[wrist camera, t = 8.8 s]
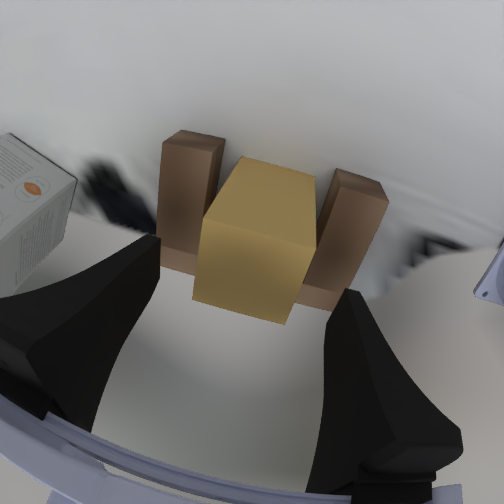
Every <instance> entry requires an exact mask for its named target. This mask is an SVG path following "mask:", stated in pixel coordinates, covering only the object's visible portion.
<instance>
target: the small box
mask: <svg viewBox="0 0 504 504" xmlns="http://www.w3.org/2000/svg"><path fill="white" fill-rule="evenodd" d="M76 182H77V180H76V179H75V178H74V177H72V176H71V175H69V174H68V173H66V172H65V171H63V170H62V169H60V168H59V167H57V166H56V165H54V164H53V163H51V162H50V161H48V160H47V159H45V158H44V157H42V156H41V155H39V154H38V153H36V152H35V151H33V150H32V149H30V148H29V147H28V146H26V145H25V144H23V143H22V142H20V141H19V140H17V139H16V138H15V137H13V136H12V135H10V134H9V133H8V134H6V135H4V136H2V137H0V298H3V297H9V296H11V295H12V294H13V293H14V292H15V291H16V290H17V289H18V287H19V286H20V285H21V284H22V283H23V282H24V281H25V279H26V278H27V277H28V276H29V275H30V274H31V273H32V272H33V271H34V269H35V268H36V267H37V266H38V265H39V264H40V263H41V262H42V261H43V260H44V259H45V257H46V256H47V255H48V254H49V253H50V252H51V251H52V250H53V249H54V248H55V247H56V246H57V245H58V244H59V243H60V242H61V241H62V239H63V236H64V232H65V226H66V222H67V218H68V213H69V209H70V205H71V201H72V197H73V193H74V189H75V186H76Z"/></svg>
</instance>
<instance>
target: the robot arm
mask: <svg viewBox="0 0 504 504" xmlns="http://www.w3.org/2000/svg"><path fill="white" fill-rule="evenodd" d="M160 254H161V238H159V237H155V236H152V235H148V234H146V235H145V236H143V237H141V238H139V239H138V240H136V241H134V242H133V243H131V244H130V245H128V246H127V247H125V248H123V249H121V250H120V251H118V252H116V253H115V254H113V255H111V256H110V257H108V258H106V259H104V260H102V261H101V262H99V263H97V264H95V265H93V266H91V267H90V268H88V269H86V270H84V271H82V272H80V273H78V274H76V275H73V276H71V277H69V278H66V279H64V280H62V281H59V282H56V283H53V284H51V285H48V286H45V287H42V288H40V289H36V290H33V291H29V292H26V293H22V294H18V295H14V296H9V297H3V298H0V455H1V456H2V457H3V458H5V459H6V460H8V461H9V462H10V463H12V464H13V465H14V466H16V467H17V468H19V469H20V470H22V471H23V472H25V473H26V474H28V475H29V476H31V477H32V478H34V479H36V480H37V481H39V482H40V483H42V484H44V485H45V486H47V487H49V488H50V489H52V492H51V494H50V496H49V499H48V501H47V503H46V504H208V503H204V502H201V501H197V500H193V499H190V498H186V497H182V496H179V495H175V494H172V493H169V492H166V491H162V490H159V489H156V488H153V487H151V486H148V485H145V484H142V483H140V482H137V481H134V480H131V479H128V478H125V477H123V476H118V475H115V474H112V473H110V472H108V471H107V470H106V469H105V468H104V465H103V463H101V462H99V461H97V460H100V461H102V462H104V463H106V464H109V465H111V466H113V467H116V468H118V469H120V470H123V471H125V472H128V473H131V474H133V475H136V476H138V477H141V478H144V479H146V480H149V481H152V482H155V483H158V484H161V485H164V486H167V487H170V488H174V489H177V490H180V491H184V492H187V493H191V494H194V495H198V496H202V497H206V498H210V499H214V500H219V501H223V502H228V503H232V504H463V500H462V486H461V484H454V485H447V486H440V487H436V488H432V482H433V481H435V480H436V471H438V470H440V469H441V468H443V467H445V466H447V465H449V464H450V463H452V462H453V461H455V460H457V459H458V458H459V457H460V456H461V454H462V453H463V443H462V436H461V431H460V428H459V427H457V426H456V425H455V424H454V423H453V422H452V421H451V420H449V419H448V418H447V417H446V416H445V415H444V414H442V412H441V411H440V410H439V409H437V407H436V406H435V405H434V404H433V403H432V402H431V401H430V400H429V399H428V398H427V397H426V396H425V395H424V394H423V392H422V391H421V390H420V389H419V387H418V386H417V385H416V384H415V383H414V382H413V380H412V379H411V378H410V376H409V375H408V374H407V372H406V371H405V369H404V368H403V366H402V365H401V364H400V362H399V361H398V359H397V358H396V356H395V355H394V353H393V351H392V350H391V348H390V346H389V345H388V343H387V341H386V340H385V338H384V336H383V334H382V333H381V331H380V329H379V327H378V325H377V323H376V322H375V320H374V318H373V316H372V314H371V312H370V310H369V308H368V306H367V305H366V302H365V300H364V299H363V297H362V295H361V293H360V292H359V291H355V290H351V289H348V288H345V289H344V291H343V293H342V295H341V297H340V299H339V301H338V303H337V305H336V307H335V308H334V310H333V312H332V314H331V316H330V318H329V320H328V322H327V323H326V331H325V340H324V400H323V410H322V417H321V424H320V430H319V436H318V442H317V447H316V452H315V456H314V460H313V465H312V469H311V473H310V476H309V480H308V484H307V488H306V491H305V493H302V492H294V491H286V490H279V489H272V488H266V487H260V486H254V485H249V484H244V483H239V482H233V481H230V480H225V479H221V478H217V477H212V476H209V475H205V474H201V473H197V472H194V471H190V470H187V469H183V468H180V467H177V466H173V465H170V464H167V463H164V462H161V461H158V460H155V459H153V458H150V457H147V456H144V455H141V454H139V453H136V452H134V451H131V450H128V449H126V448H123V447H121V446H119V445H116V444H114V443H111V442H109V441H107V440H104V439H102V438H100V437H98V436H96V435H94V434H91V430H92V426H93V423H94V420H95V416H96V413H97V409H98V406H99V403H100V400H101V397H102V394H103V392H104V389H105V386H106V383H107V381H108V378H109V375H110V373H111V370H112V368H113V366H114V363H115V361H116V359H117V356H118V354H119V352H120V350H121V348H122V345H123V344H124V342H125V340H126V338H127V337H128V335H129V333H130V332H131V330H132V328H133V327H134V325H135V323H136V322H137V320H138V319H139V317H140V315H141V314H142V312H143V310H144V308H145V307H146V306H147V304H148V302H149V301H150V299H151V297H152V294H153V292H154V290H155V288H156V286H157V283H158V281H159V279H160ZM473 292H474V295H475V297H477V298H480V299H483V300H487V301H490V302H493V303H497V304H500V305H503V306H504V243H503V244H502V246H501V248H500V249H499V251H498V253H497V254H496V256H495V258H494V259H493V261H492V263H491V264H490V266H489V267H488V269H487V270H486V272H485V273H484V275H483V277H482V278H481V280H480V281H479V283H478V284H477V285H476V287H475V289H474V291H473ZM484 292H485V293H484ZM90 456H91V457H90ZM92 457H93V458H92ZM94 458H95V459H94ZM96 459H97V460H96Z"/></svg>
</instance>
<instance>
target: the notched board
mask: <svg viewBox="0 0 504 504" xmlns="http://www.w3.org/2000/svg"><path fill="white" fill-rule="evenodd" d="M224 145H225V139H224V138H219V137H214V136H210V135H205V134H200V133H195V132H189V131H184V130H181V131H179V132H178V133H176V134H174V135H173V136H171V137H170V138H168V139H167V140H165V141H164V142H163V144H162V154H161V165H160V178H159V192H158V209H157V230H156V237H159V238H161V254H160V266H163V267H166V268H170V269H173V270H176V271H180V272H183V273H187V274H190V275H194V276H195V272H196V265H197V257H198V250H199V243H200V235H201V228H202V222H203V218H204V216H205V214H206V213H207V211H208V209H209V208H210V206H211V204H212V203H213V201H214V200H215V196H216V190H217V184H218V178H219V172H220V167H221V161H222V155H223V150H224ZM388 204H389V200H388V198H387V196H386V194H385V192H384V190H383V188H382V186H381V184H380V182H377V181H374V180H371V179H369V178H366V177H363V176H360V175H356V174H353V173H350V172H347V171H344V170H341V169H338V168H336V171H335V174H334V177H333V180H332V183H331V186H330V189H329V192H328V195H327V197H326V200H325V203H324V206H323V209H322V212H321V214H320V217H319V220H318V223H317V226H316V251H315V253H314V256H313V258H312V261H311V263H310V266H309V268H308V271H307V273H306V275H305V278H304V280H303V283H302V285H301V288H300V290H299V292H298V295H297V297H296V299H295V302H294V303H298V304H302V305H306V306H310V307H315V308H318V309H322V310H327V311H331V312H333V310H334V308H335V307H336V305H337V303H338V301H339V299H340V297H341V295H342V293H343V291H344V289H345V288H349V286H350V284H351V282H352V280H353V278H354V276H355V274H356V272H357V270H358V268H359V266H360V264H361V262H362V260H363V258H364V256H365V254H366V252H367V250H368V248H369V246H370V244H371V242H372V239H373V237H374V235H375V233H376V231H377V229H378V226H379V224H380V222H381V220H382V218H383V215H384V213H385V211H386V209H387V206H388Z"/></svg>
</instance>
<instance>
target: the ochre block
mask: <svg viewBox="0 0 504 504" xmlns="http://www.w3.org/2000/svg"><path fill="white" fill-rule="evenodd" d="M315 251H316V203H315V176H312V175H309V174H305V173H302V172H298V171H295V170H291V169H288V168H284V167H281V166H277V165H273V164H269V163H266V162H262V161H258V160H254V159H250V158H246V157H241V159H240V160H239V162H238V163H237V165H236V166H235V168H234V169H233V171H232V173H231V174H230V176H229V177H228V179H227V180H226V182H225V184H224V185H223V187H222V188H221V190H220V192H219V193H218V195H217V196H216V198H215V200H214V201H213V203H212V204H211V206H210V208H209V209H208V211H207V213H206V214H205V216H204V218H203V222H202V228H201V235H200V243H199V250H198V257H197V265H196V272H195V280H194V289H193V297H192V300H195V301H198V302H202V303H205V304H209V305H212V306H216V307H219V308H223V309H227V310H230V311H233V312H237V313H241V314H245V315H248V316H252V317H256V318H259V319H263V320H268V321H271V322H275V323H279V324H283V325H285V323H286V320H287V318H288V316H289V313H290V311H291V309H292V306H293V304H294V302H295V299H296V297H297V295H298V292H299V290H300V288H301V285H302V283H303V280H304V278H305V275H306V273H307V271H308V268H309V266H310V263H311V261H312V258H313V256H314V253H315Z"/></svg>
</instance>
